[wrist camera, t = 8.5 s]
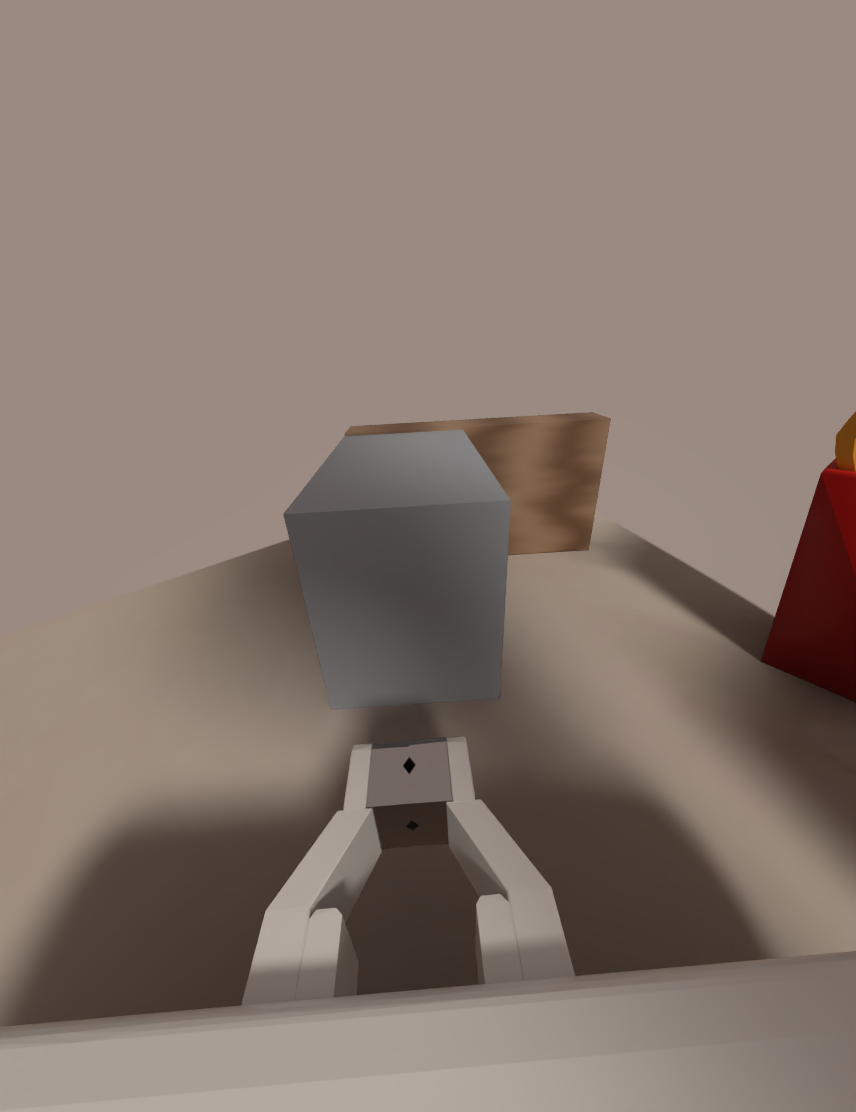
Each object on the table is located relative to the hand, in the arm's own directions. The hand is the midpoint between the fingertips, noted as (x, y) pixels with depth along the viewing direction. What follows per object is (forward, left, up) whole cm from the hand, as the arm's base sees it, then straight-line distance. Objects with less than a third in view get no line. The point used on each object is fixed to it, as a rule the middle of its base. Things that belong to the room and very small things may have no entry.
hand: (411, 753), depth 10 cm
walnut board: (+5, +22, -5) cm, 23 cm away
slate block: (0, +13, -5) cm, 14 cm away
